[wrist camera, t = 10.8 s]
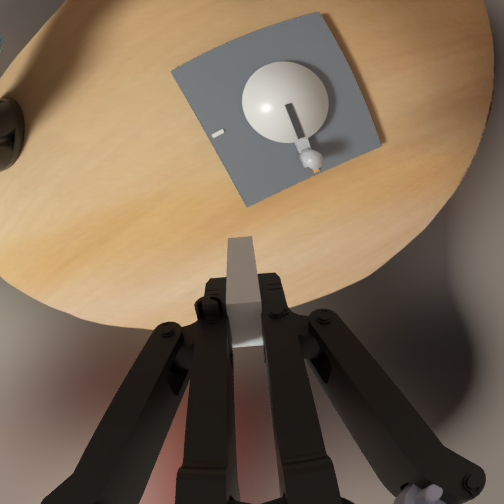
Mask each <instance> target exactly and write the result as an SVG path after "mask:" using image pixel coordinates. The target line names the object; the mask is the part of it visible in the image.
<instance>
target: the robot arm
mask: <svg viewBox="0 0 504 504" xmlns="http://www.w3.org/2000/svg"><path fill="white" fill-rule="evenodd" d="M3 45H4V37H3V35H2V34H0V52H1V50H2V47H3ZM23 138H24V119H23V114H22V111H21V108H20V106H19V105H18V103H17V102H16V101H14V100H13V99H10V98H5V99H0V172H1V171H3V170H6V169H8V168H9V167H11V166H12V165H13V164H14V162H15V161H16V159H17V158H18V156H19V153H20V151H21V148H22V144H23ZM194 306H195V310H196V314H197V318H198V320H197V321H196V322H195V323H193V324H191V325H188V326H184V327H181V326H180V325H179V324H178V323H175V322H165V323H162V324H160V325H158V326H157V327H156V328H155V329H154V331H153V333H152V334H151V336H150V338H149V339H148V341H147V342H146V344H145V346H144V347H143V349H142V351H141V352H140V354H139V356H138V357H137V359H136V361H135V362H134V364H133V366H132V367H131V369H130V371H129V372H128V374H127V376H126V378H125V379H124V381H123V383H122V384H121V386H120V388H119V390H118V391H117V393H116V395H115V397H114V398H113V400H112V402H111V404H110V406H109V407H108V409H107V411H106V412H105V415H104V416H103V418H102V420H101V421H100V423H99V425H98V427H97V429H96V431H95V433H94V434H93V436H92V438H91V440H90V442H89V444H88V446H87V448H86V449H85V451H84V453H83V455H82V457H81V459H80V461H79V463H78V465H77V467H76V469H75V471H74V473H73V474H72V475H71V476H70V477H68V478H67V479H66V480H65V481H64V482H63V483H62V484H60V485H59V486H58V487H57V488H56V489H55V490H54V491H52V492H51V493H50V494H49V495H48V496H46V497H45V498H44V499H43V501H42V502H41V504H139V502H140V500H141V497H142V495H143V493H144V490H145V488H146V485H147V483H148V480H149V478H150V475H151V473H152V470H153V468H154V465H155V463H156V460H157V458H158V455H159V453H160V450H161V448H162V446H163V443H164V440H165V438H166V436H167V433H168V431H169V429H170V426H171V423H172V421H173V418H174V416H175V414H176V411H177V409H178V406H179V404H180V402H181V399H182V397H183V394H184V392H185V390H186V387H187V385H188V382H189V380H190V387H189V397H188V407H187V419H186V430H185V443H184V458H183V464H182V466H181V467H180V468H179V470H178V472H177V478H176V496H175V504H250V503H244V502H240V493H239V487H238V480H237V456H236V433H235V432H236V431H235V402H234V365H233V364H234V363H233V351H232V347H245V346H257V345H263V346H264V363H265V367H266V375H267V384H268V392H269V400H270V408H271V417H272V425H273V433H274V441H275V449H276V458H277V467H278V475H279V487H280V497H281V498H278V499H275V500H272V501H269V502H265V503H262V504H354V503H353V502H351V501H349V500H347V499H345V498H342V497H340V492H339V488H338V484H337V479H336V474H335V470H334V466H333V463H332V460H331V458H330V457H329V456H328V455H327V453H326V450H325V446H324V442H323V437H322V433H321V428H320V424H319V420H318V416H317V412H316V408H315V403H314V399H313V395H312V391H311V387H310V383H309V378H308V374H307V371H306V367H305V362H304V359H306V362H307V364H308V365H309V367H310V368H311V370H312V372H313V373H314V375H315V377H316V378H317V380H318V382H319V383H320V385H321V386H322V388H323V390H324V391H325V393H326V395H327V396H328V398H329V399H330V401H331V403H332V404H333V406H334V407H335V409H336V411H337V412H338V414H339V416H340V417H341V419H342V421H343V422H344V424H345V425H346V427H347V428H348V430H349V432H350V433H351V435H352V437H353V438H354V440H355V441H356V443H357V444H358V446H359V448H360V449H361V451H362V453H363V454H364V456H365V457H366V459H367V460H368V462H369V464H370V465H371V467H372V468H373V470H374V471H375V473H376V475H377V476H378V478H379V479H380V481H381V482H382V483H383V485H384V486H385V487H386V488H387V489H388V490H389V491H390V492H391V493H392V494H393V495H394V496H395V497H397V498H396V499H395V501H394V504H463V503H465V502H467V501H469V500H472V499H473V498H475V497H476V496H478V495H479V494H480V492H481V491H482V490H483V488H484V485H485V482H486V476H485V473H484V470H483V469H482V468H481V467H479V466H478V465H476V464H474V463H472V462H471V461H469V460H467V459H465V458H464V457H462V456H460V455H458V454H456V453H455V452H453V451H451V450H450V449H448V448H446V447H445V446H443V445H442V443H441V442H440V441H439V439H438V438H437V437H436V435H435V434H434V433H433V432H432V430H431V429H430V428H429V426H428V425H427V424H426V423H425V421H424V420H423V419H422V417H421V416H420V415H419V414H418V412H417V411H416V410H415V409H414V407H413V406H412V405H411V404H410V402H409V401H408V400H407V398H405V396H404V395H403V394H402V392H401V391H400V390H399V389H398V387H397V386H396V385H395V384H394V382H393V381H392V380H391V379H390V377H389V376H388V375H387V374H386V373H385V371H384V370H383V369H382V368H381V366H380V365H379V364H378V363H377V362H376V360H375V359H374V358H373V357H372V356H371V354H370V353H369V352H368V351H367V350H366V348H365V347H364V346H363V345H362V343H361V342H360V341H359V340H358V339H357V338H356V336H355V335H354V334H353V333H352V332H351V331H350V329H349V328H348V327H347V326H346V324H345V323H344V322H343V321H342V320H341V319H340V317H339V316H338V315H337V314H336V313H334V312H333V311H331V310H329V309H317V310H315V311H313V312H312V313H311V314H310V315H309V316H303V315H298V314H295V313H293V312H292V311H291V310H290V308H288V306H287V303H286V299H285V295H284V291H283V287H282V284H281V280H280V277H279V276H278V275H277V274H276V273H263V274H257V268H256V261H255V254H254V247H253V240H252V236H249V237H237V238H228V252H227V277H223V278H210V279H209V281H208V282H207V283H206V287H205V294H204V297H201V298H199V299H198V300H197V301H196V303H195V305H194Z"/></svg>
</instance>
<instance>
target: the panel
mask: <svg viewBox="0 0 504 504" xmlns="http://www.w3.org/2000/svg"><path fill="white" fill-rule="evenodd" d="M274 62H293V63H297V64H300V65H302V66H304V67H306V68H308V69H310V70H311V71H312V72H314V73H315V74H316V75H317V76H318V78H319V79H320V80H321V81H322V83H323V85H324V87H325V89H326V91H327V95H328V101H329V107H328V113H327V117H326V119H325V121H324V123H323V125H322V126H321V127H320V129H319V130H318V131H317V132H316V133H315V134H313V135H312V136H310V137H309V138H308V141H309V143H310V146H311V149H312V150H315V151H317V152H319V153H320V154H322V156H323V158H324V162H323V165H322V166H321V167H320V168H319V169H311V168H309V167H306V168H305V167H304V166H303V164H302V162H301V161H300V160H299V159H298V150H297V148H296V145H295V142H294V143H281V142H276V141H273V140H270V139H268V138H266V137H264V136H262V135H261V134H259V133H258V132H257V131H255V130H254V129H253V127H252V126H251V125H250V124H249V122H248V121H247V119H246V117H245V114H244V112H243V107H242V95H243V91H244V88H245V85H246V83H247V81H248V80H249V78H250V77H251V76H252V75H253V74H254V73H255V72H256V71H257V70H258V69H260V68H261V67H263V66H265V65H268V64H270V63H274ZM171 73H172V75H173V77H174V78H175V80H176V82H177V84H178V85H179V87H180V89H181V90H182V92H183V94H184V96H185V97H186V99H187V101H188V103H189V104H190V106H191V108H192V110H193V111H194V113H195V115H196V117H197V118H198V120H199V122H200V124H201V126H202V127H203V129H204V131H205V133H206V134H207V136H208V138H209V140H210V142H211V143H212V145H213V147H214V149H215V150H216V152H217V154H218V156H219V158H220V159H221V161H222V163H223V165H224V167H225V168H226V170H227V172H228V174H229V176H230V178H231V179H232V181H233V183H234V185H235V187H236V188H237V190H238V192H239V194H240V196H241V198H242V199H243V201H244V203H245V205H246V207H249V206H251V205H253V204H255V203H257V202H259V201H261V200H263V199H265V198H267V197H269V196H271V195H274V194H276V193H278V192H280V191H282V190H284V189H286V188H288V187H290V186H293V185H295V184H297V183H299V182H301V181H303V180H306V179H308V178H310V177H312V176H314V175H316V174H319V173H321V172H323V171H325V170H328V169H330V168H332V167H334V166H337V165H339V164H341V163H343V162H346V161H348V160H350V159H353V158H355V157H357V156H359V155H362V154H364V153H367V152H369V151H371V150H374V149H376V148H378V147H381V143H380V140H379V137H378V134H377V131H376V128H375V125H374V123H373V120H372V117H371V115H370V112H369V110H368V107H367V105H366V102H365V100H364V97H363V95H362V93H361V90H360V88H359V86H358V84H357V81H356V79H355V77H354V75H353V73H352V71H351V68H350V66H349V64H348V62H347V60H346V58H345V56H344V54H343V52H342V50H341V49H340V47H339V45H338V43H337V41H336V39H335V37H334V36H333V34H332V32H331V30H330V29H329V27H328V25H327V24H326V22H325V20H324V19H323V17H322V15H321V14H320V12H316V13H311V14H307V15H304V16H300V17H296V18H293V19H289V20H286V21H283V22H280V23H277V24H274V25H271V26H268V27H265V28H262V29H259V30H257V31H254V32H251V33H249V34H246V35H244V36H241V37H239V38H236V39H234V40H232V41H229V42H227V43H225V44H223V45H220V46H218V47H216V48H214V49H212V50H210V51H208V52H206V53H204V54H202V55H200V56H198V57H196V58H194V59H192V60H190V61H188V62H186V63H184V64H183V65H181V66H179V67H177V68H176V69H174V70H172V71H171Z"/></svg>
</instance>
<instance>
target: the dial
mask: <svg viewBox="0 0 504 504" xmlns="http://www.w3.org/2000/svg"><path fill="white" fill-rule="evenodd" d="M242 107H243V112H244V114H245V117H246V119H247V121H248V122H249V124H250V125H251V126H252V127H253V129H254V130H255V131H257V132H258V133H259V134H261V135H262V136H264V137H266V138H268V139H270V140H273V141H276V142H281V143H294V142H295V145H296V148H297V150H298V159H299V160H300V161H301V162H302V164H303V166H304V167H305V168H306V167H309V168H311V169H319V168H320V167H321V166H322V165H323V162H324V158H323V156H322V154H320V153H319V152H317V151H315V150H312V149H311V146H310V143H309V141H308V138H309V137H310V136H312V135H313V134H315V133H316V132H317V131H318V130H319V129H320V127H321V126H322V125H323V123H324V121H325V119H326V117H327V113H328V107H329V101H328V95H327V91H326V89H325V87H324V85H323V83H322V81H321V80H320V79H319V78H318V76H317V75H316V74H315V73H314V72H312V71H311V70H310V69H308V68H306V67H304V66H302V65H300V64H297V63H293V62H274V63H270V64H268V65H265V66H263V67H261V68H260V69H258V70H257V71H256V72H255V73H254V74H253V75H252V76H251V77H250V78H249V80H248V81H247V83H246V85H245V88H244V91H243V95H242Z"/></svg>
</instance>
